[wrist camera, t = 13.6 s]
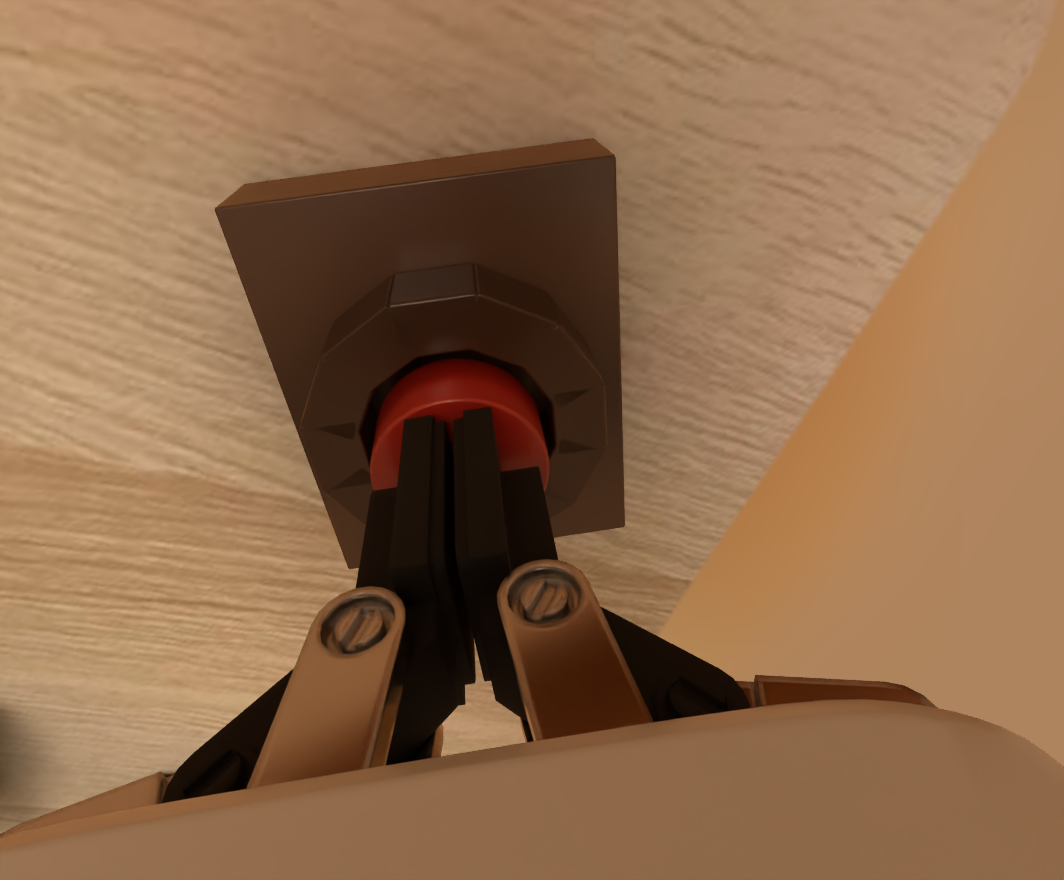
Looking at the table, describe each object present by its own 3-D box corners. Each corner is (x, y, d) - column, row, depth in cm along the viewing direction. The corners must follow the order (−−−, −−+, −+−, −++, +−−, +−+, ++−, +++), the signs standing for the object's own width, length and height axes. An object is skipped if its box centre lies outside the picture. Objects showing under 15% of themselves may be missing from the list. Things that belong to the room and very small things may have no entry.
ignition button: (358, 370, 13) (347, 414, 12) (531, 345, 13) (541, 385, 12) (397, 503, 15) (392, 555, 14) (546, 481, 15) (557, 530, 14)
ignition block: (243, 184, 14) (181, 234, 11) (594, 137, 14) (638, 172, 11) (357, 519, 20) (339, 620, 16) (609, 481, 20) (641, 572, 17)
